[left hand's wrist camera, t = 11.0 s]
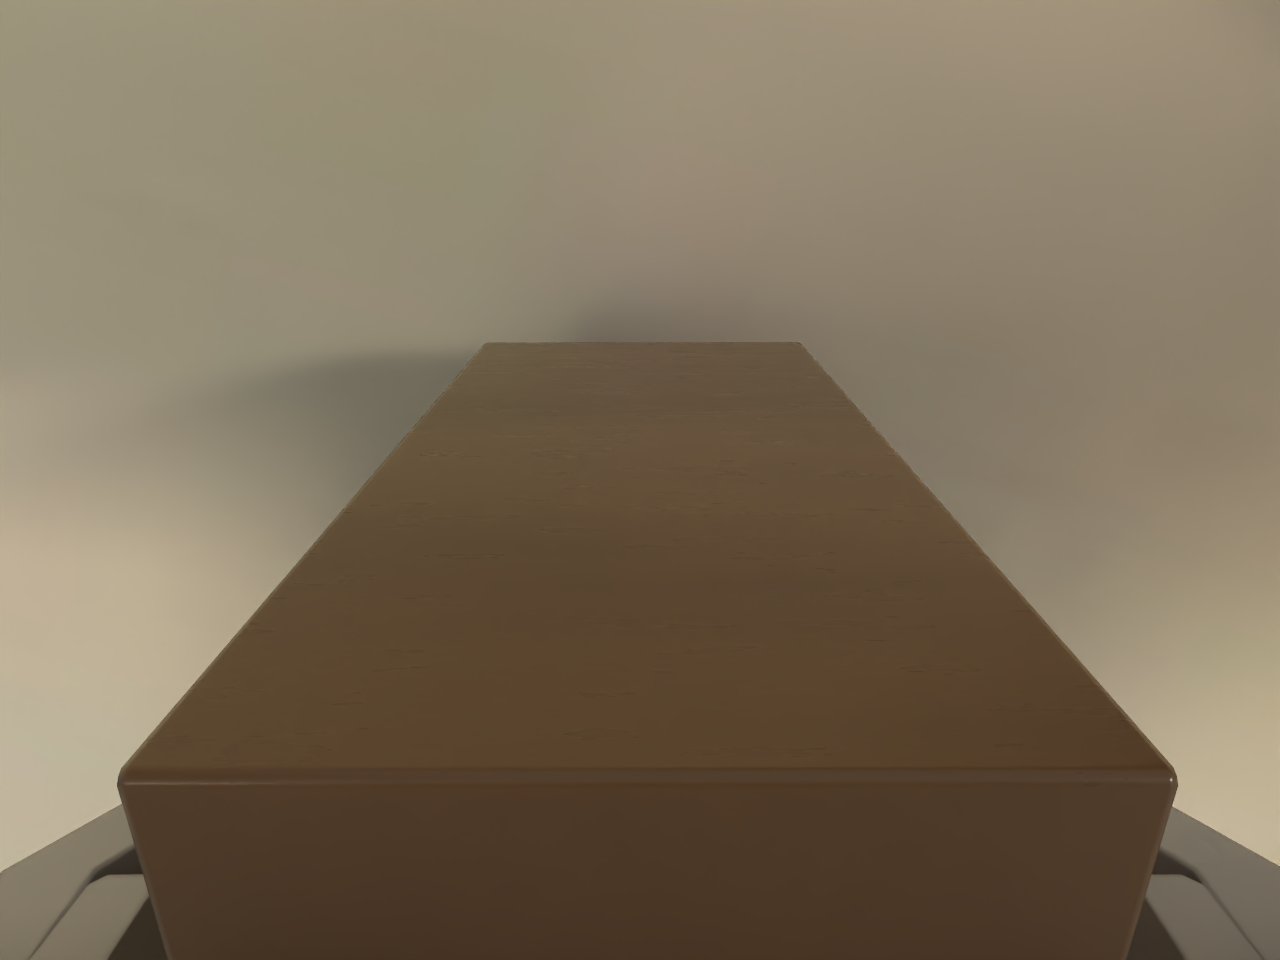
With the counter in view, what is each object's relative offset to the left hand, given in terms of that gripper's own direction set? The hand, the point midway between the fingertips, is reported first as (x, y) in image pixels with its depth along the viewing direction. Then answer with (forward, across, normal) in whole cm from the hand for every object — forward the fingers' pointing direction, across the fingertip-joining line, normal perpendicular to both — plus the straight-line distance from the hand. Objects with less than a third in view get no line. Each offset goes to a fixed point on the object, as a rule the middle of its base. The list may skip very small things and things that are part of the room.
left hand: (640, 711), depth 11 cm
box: (+6, 0, +7) cm, 9 cm away
